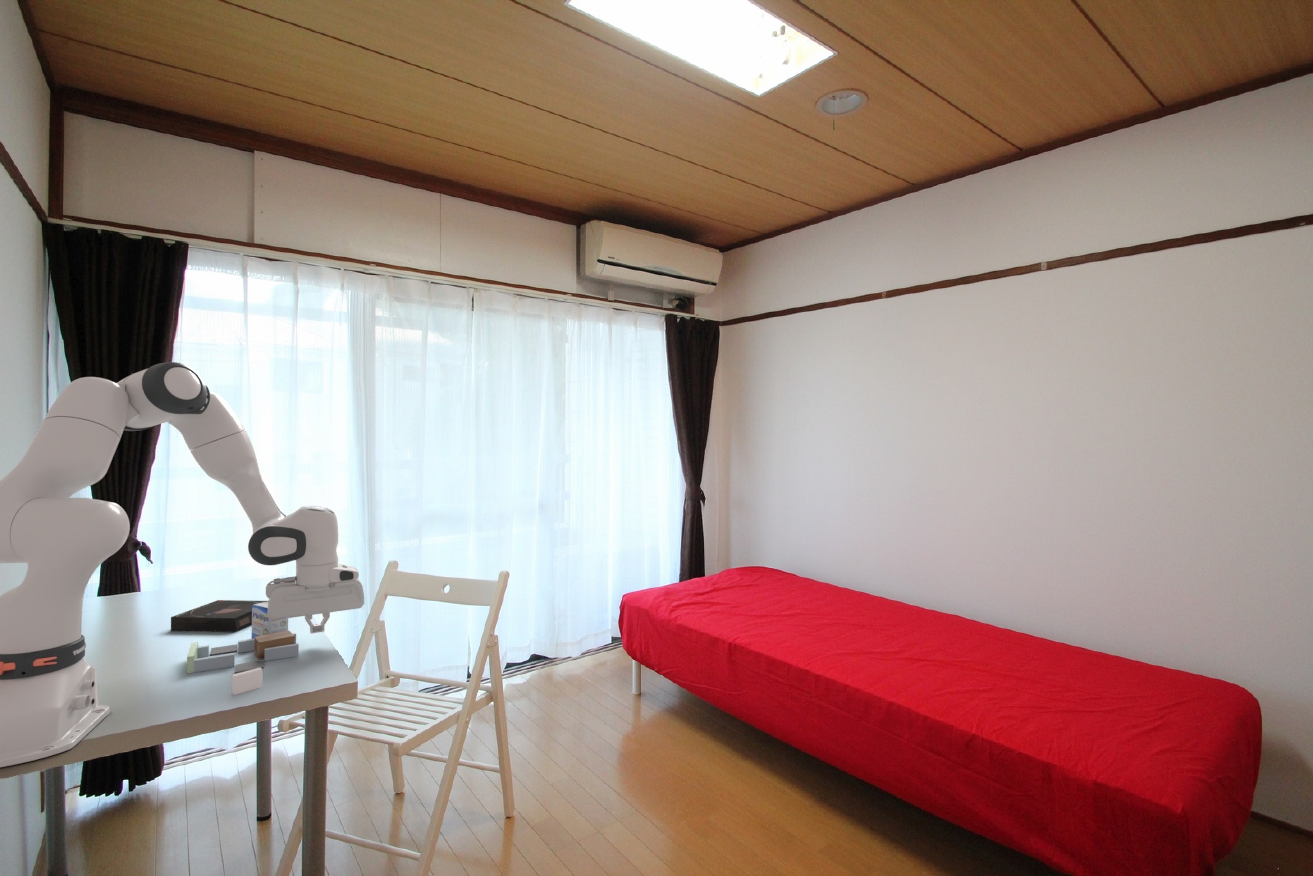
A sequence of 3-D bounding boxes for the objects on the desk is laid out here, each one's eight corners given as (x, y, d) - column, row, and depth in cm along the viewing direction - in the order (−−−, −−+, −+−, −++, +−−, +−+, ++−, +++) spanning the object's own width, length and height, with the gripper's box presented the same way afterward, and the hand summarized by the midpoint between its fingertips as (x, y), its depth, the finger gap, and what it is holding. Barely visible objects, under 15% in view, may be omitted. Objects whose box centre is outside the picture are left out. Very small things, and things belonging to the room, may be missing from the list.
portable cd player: (237, 634, 157) (237, 618, 157) (170, 632, 158) (170, 617, 158) (278, 615, 174) (278, 601, 174) (217, 614, 174) (218, 600, 174)
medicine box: (250, 640, 151) (251, 604, 151) (269, 635, 155) (269, 600, 155) (270, 645, 148) (270, 609, 147) (288, 640, 151) (289, 604, 151)
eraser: (231, 693, 120) (232, 674, 120) (259, 685, 124) (260, 667, 124) (234, 695, 120) (234, 676, 119) (262, 687, 123) (262, 669, 123)
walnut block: (294, 653, 143) (294, 635, 143) (258, 660, 138) (259, 642, 138) (289, 647, 147) (289, 630, 147) (254, 654, 142) (254, 637, 142)
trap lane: (299, 662, 136) (299, 646, 136) (184, 681, 125) (184, 664, 125) (294, 637, 154) (294, 623, 154) (193, 652, 143) (193, 636, 143)
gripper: (266, 582, 139) (266, 644, 139) (365, 571, 151) (365, 628, 151) (265, 576, 144) (265, 636, 145) (361, 566, 156) (361, 621, 156)
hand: (317, 632), depth 148 cm, fingers closed
